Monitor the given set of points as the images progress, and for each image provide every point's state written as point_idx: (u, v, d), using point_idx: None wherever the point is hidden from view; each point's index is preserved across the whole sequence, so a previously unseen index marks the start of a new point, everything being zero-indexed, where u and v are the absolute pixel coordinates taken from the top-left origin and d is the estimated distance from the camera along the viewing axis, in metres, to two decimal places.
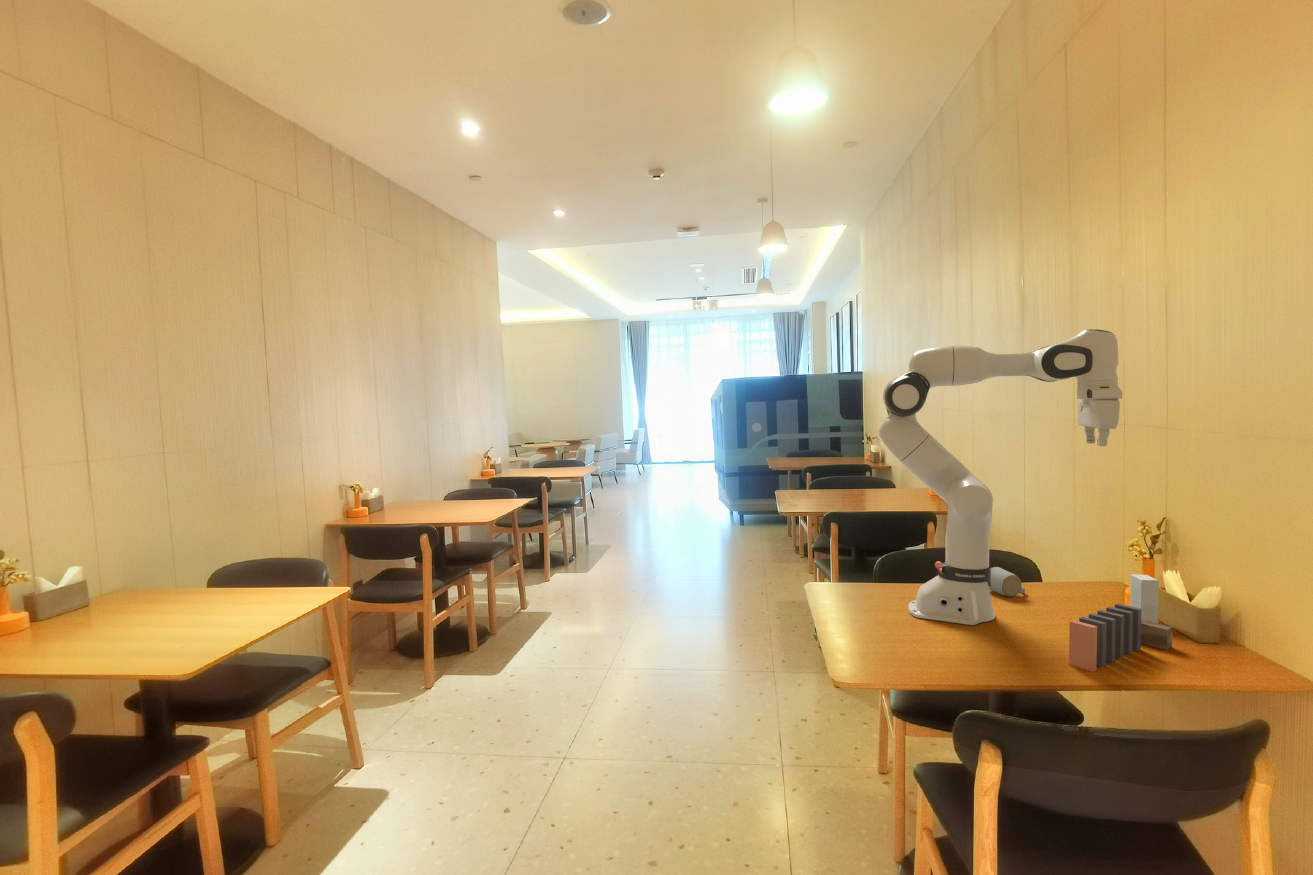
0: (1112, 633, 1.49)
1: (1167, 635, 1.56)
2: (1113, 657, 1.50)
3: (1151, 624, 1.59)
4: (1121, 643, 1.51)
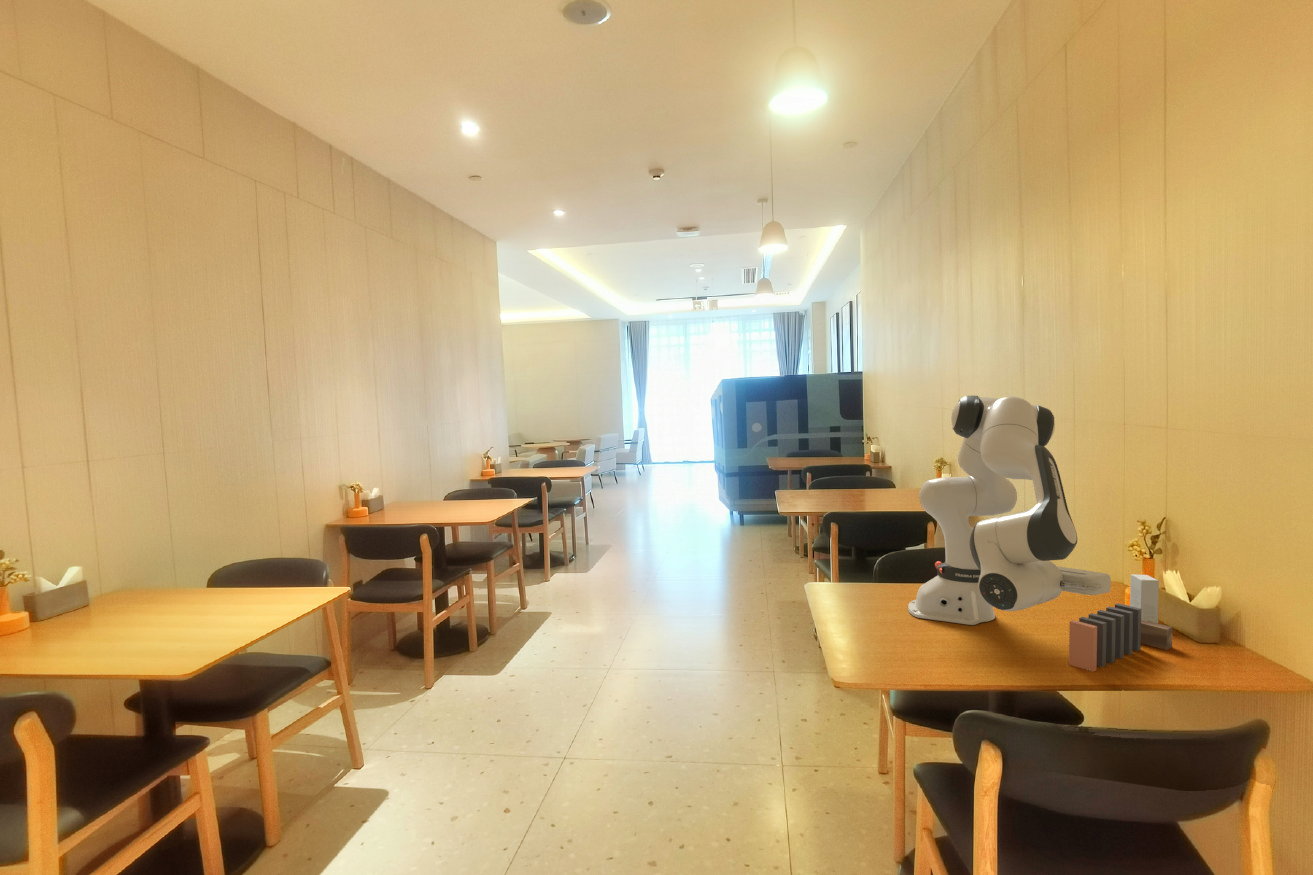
0: (1112, 633, 1.49)
1: (1167, 635, 1.56)
2: (1113, 657, 1.50)
3: (1151, 624, 1.59)
4: (1121, 643, 1.51)
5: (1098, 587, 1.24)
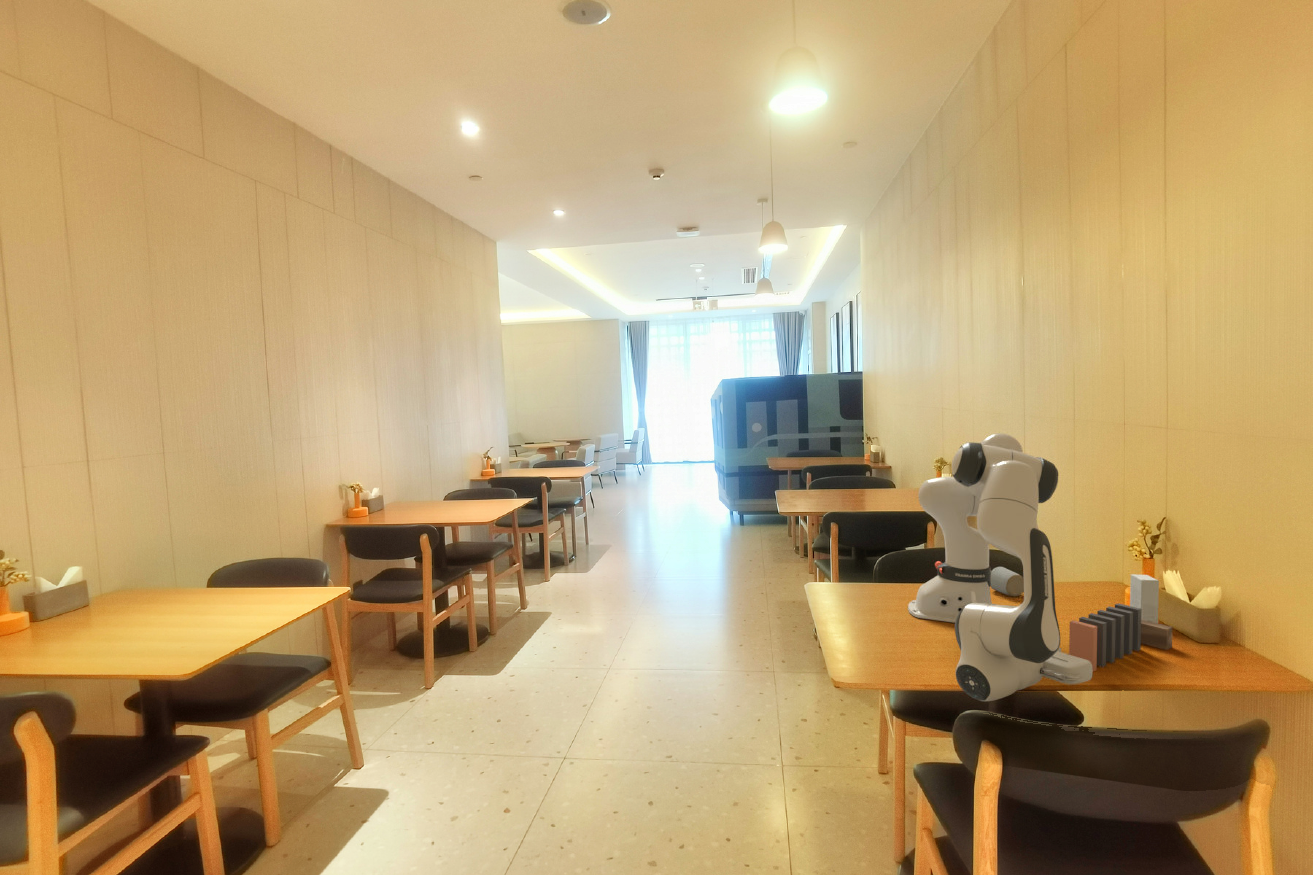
0: (1112, 633, 1.49)
1: (1167, 635, 1.56)
2: (1113, 657, 1.50)
3: (1151, 624, 1.59)
4: (1121, 643, 1.51)
5: (1076, 678, 1.25)
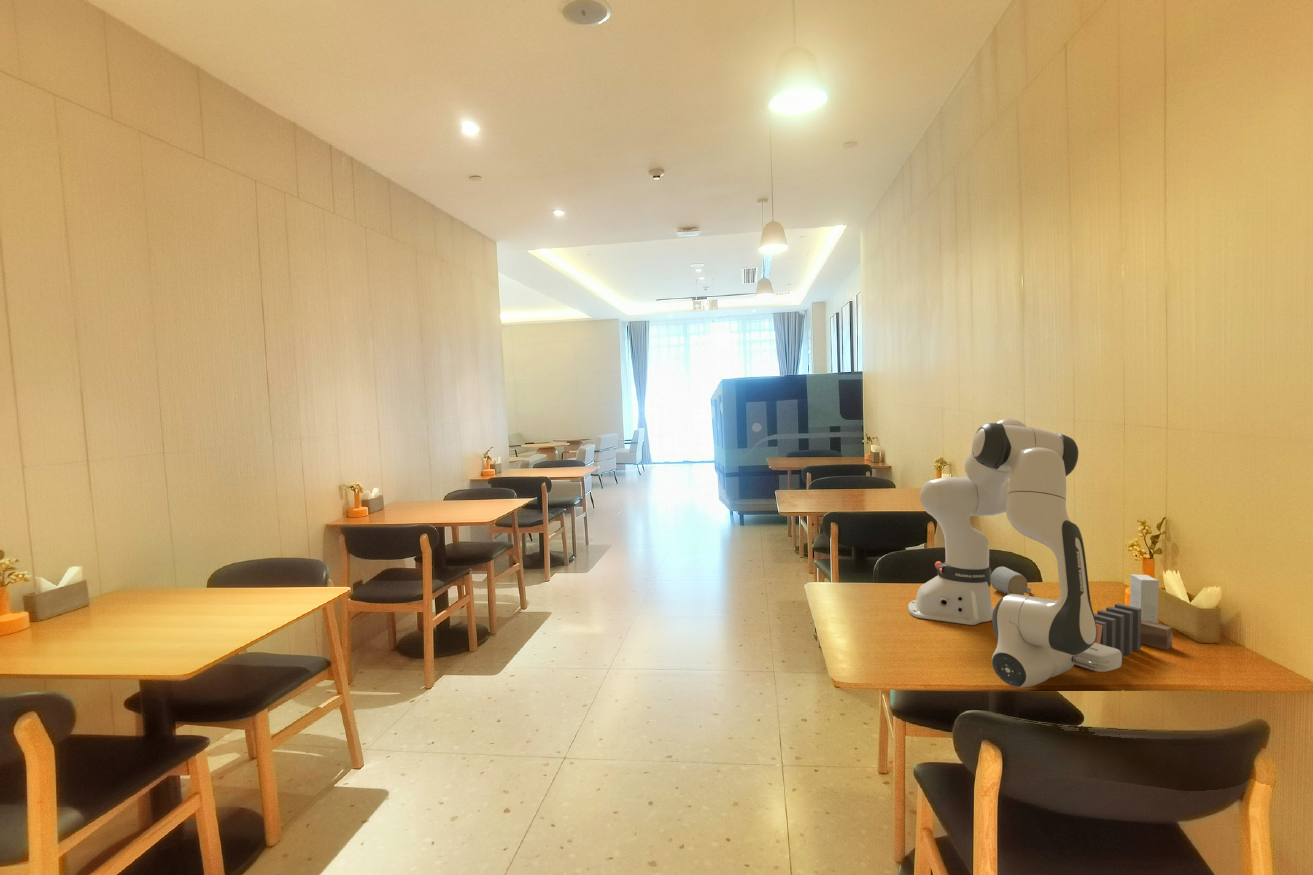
0: (1112, 633, 1.49)
1: (1167, 635, 1.56)
2: None
3: (1151, 624, 1.59)
4: (1121, 643, 1.51)
5: (1107, 666, 1.32)
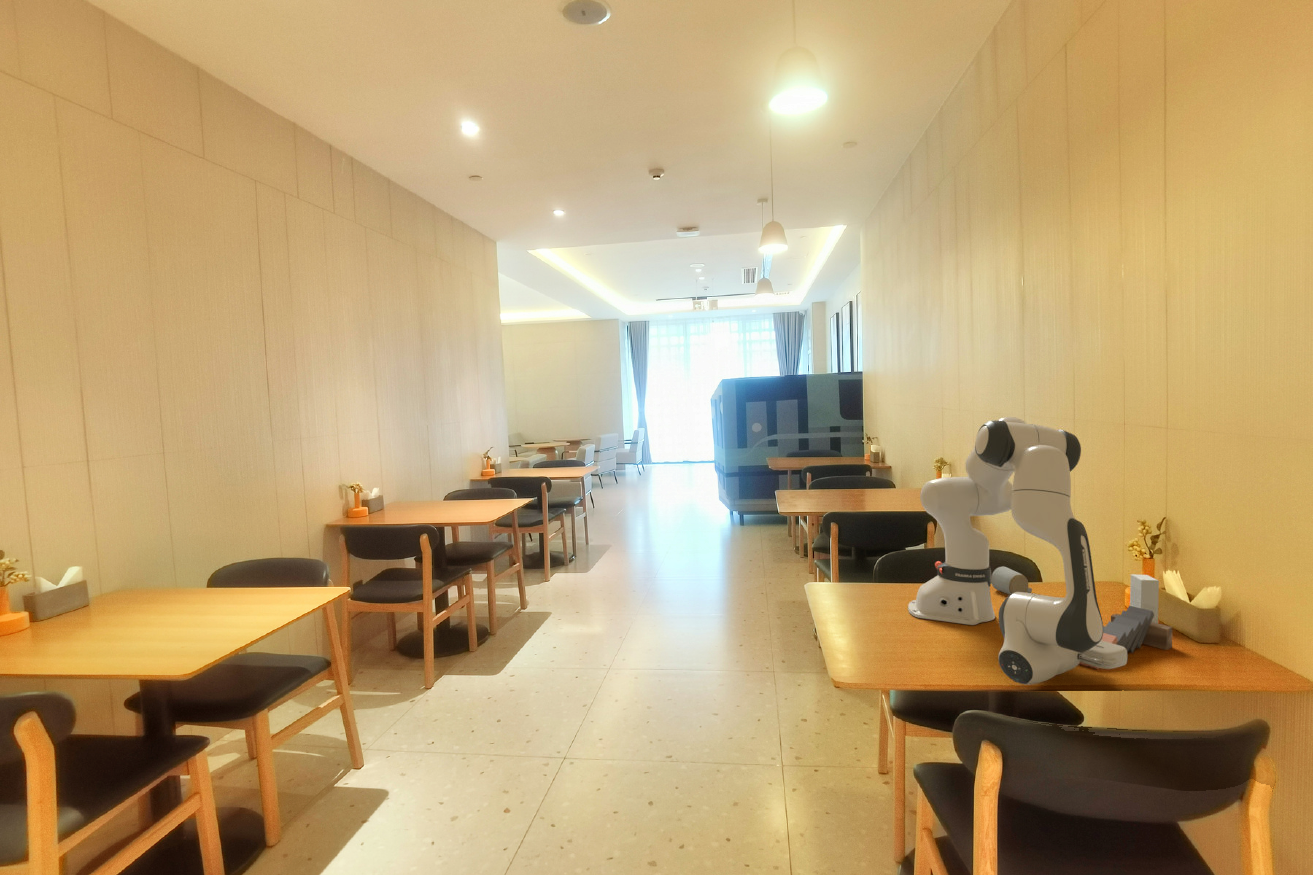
0: (1127, 635, 1.53)
1: (1167, 635, 1.56)
2: None
3: (1151, 624, 1.59)
4: (1129, 641, 1.53)
5: (1113, 663, 1.33)
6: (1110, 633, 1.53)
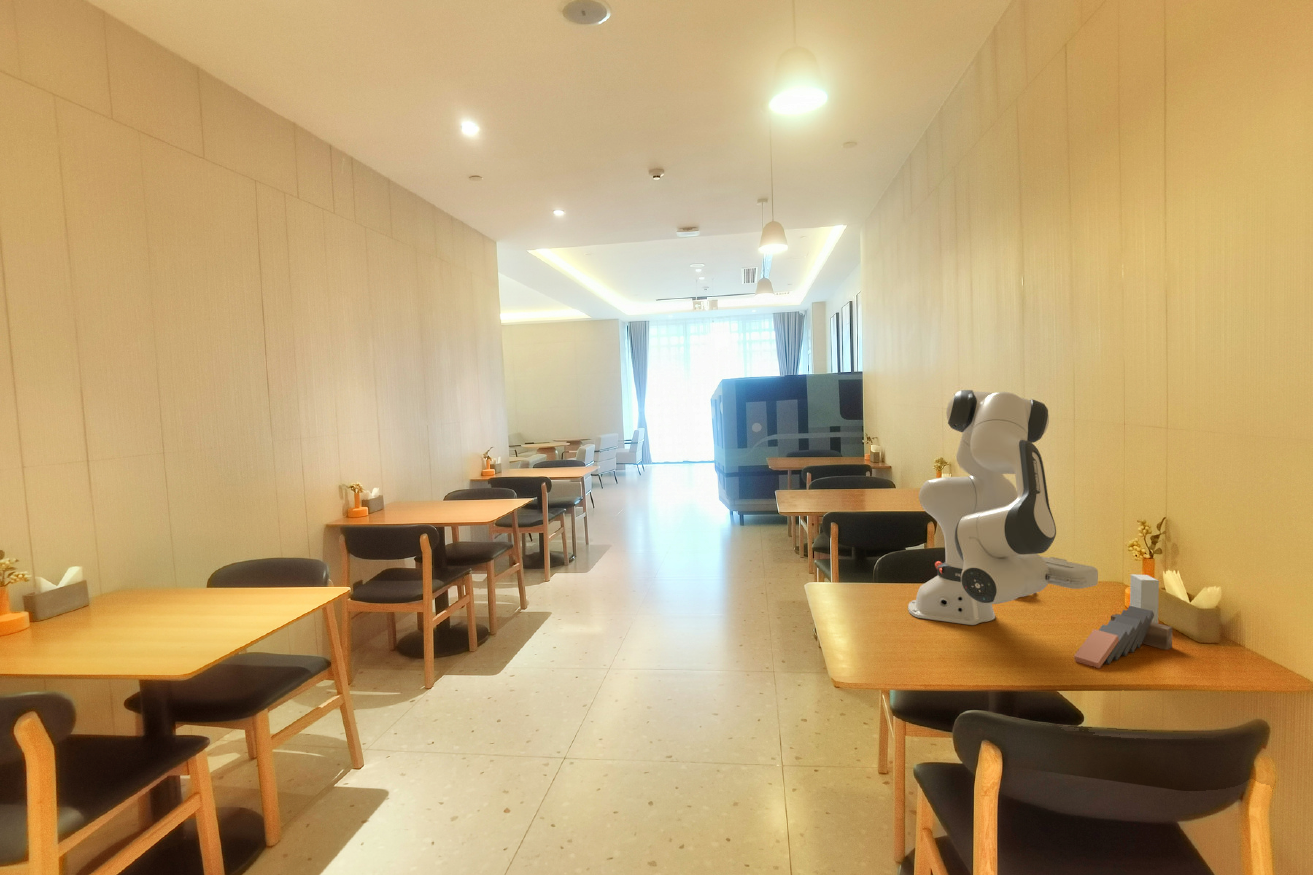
0: (1128, 634, 1.53)
1: (1167, 635, 1.56)
2: (1118, 654, 1.51)
3: (1151, 624, 1.59)
4: (1130, 640, 1.54)
5: (1082, 581, 1.26)
6: (1111, 632, 1.54)
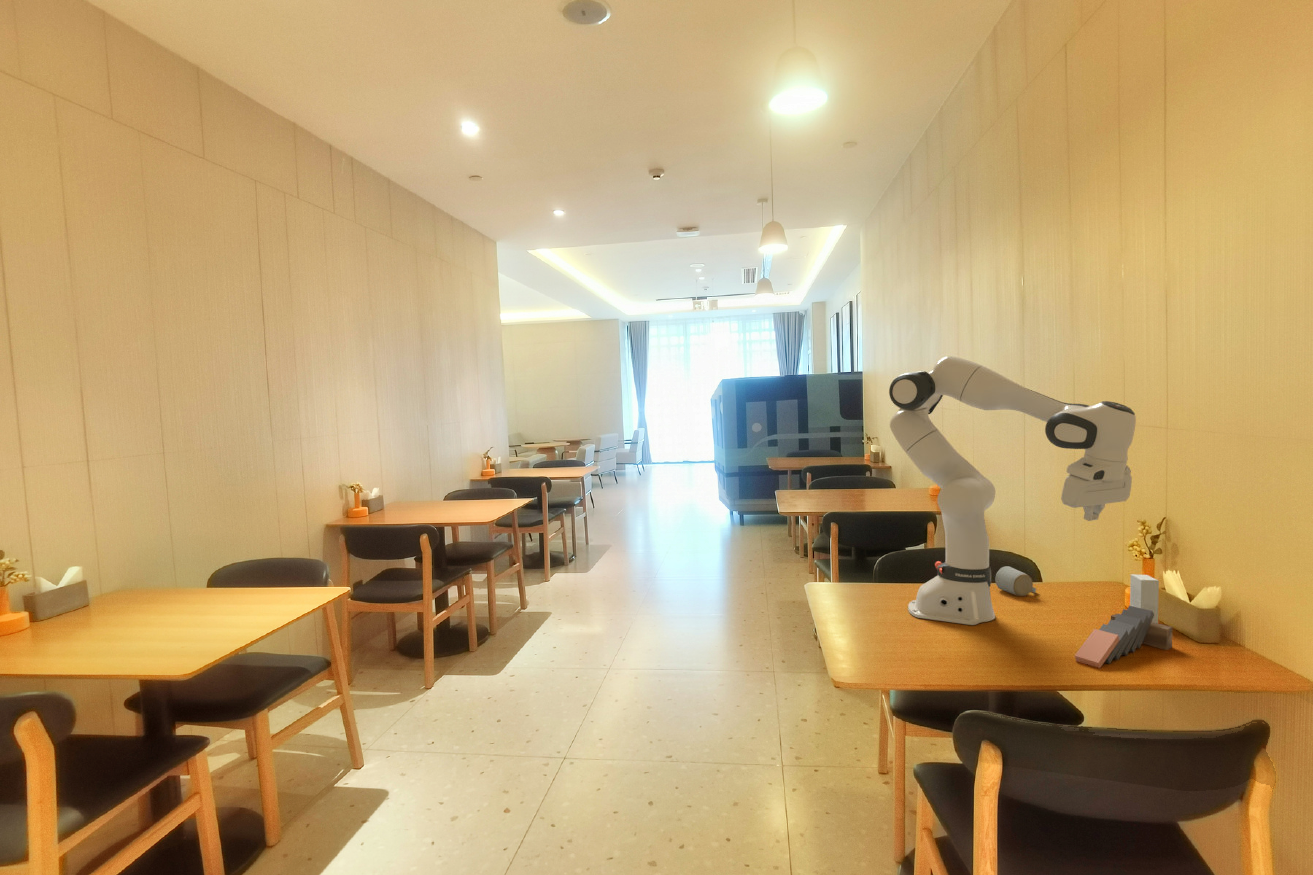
0: (1128, 634, 1.53)
1: (1167, 635, 1.56)
2: (1119, 654, 1.51)
3: (1151, 624, 1.59)
4: (1131, 640, 1.54)
5: None
6: (1112, 631, 1.54)
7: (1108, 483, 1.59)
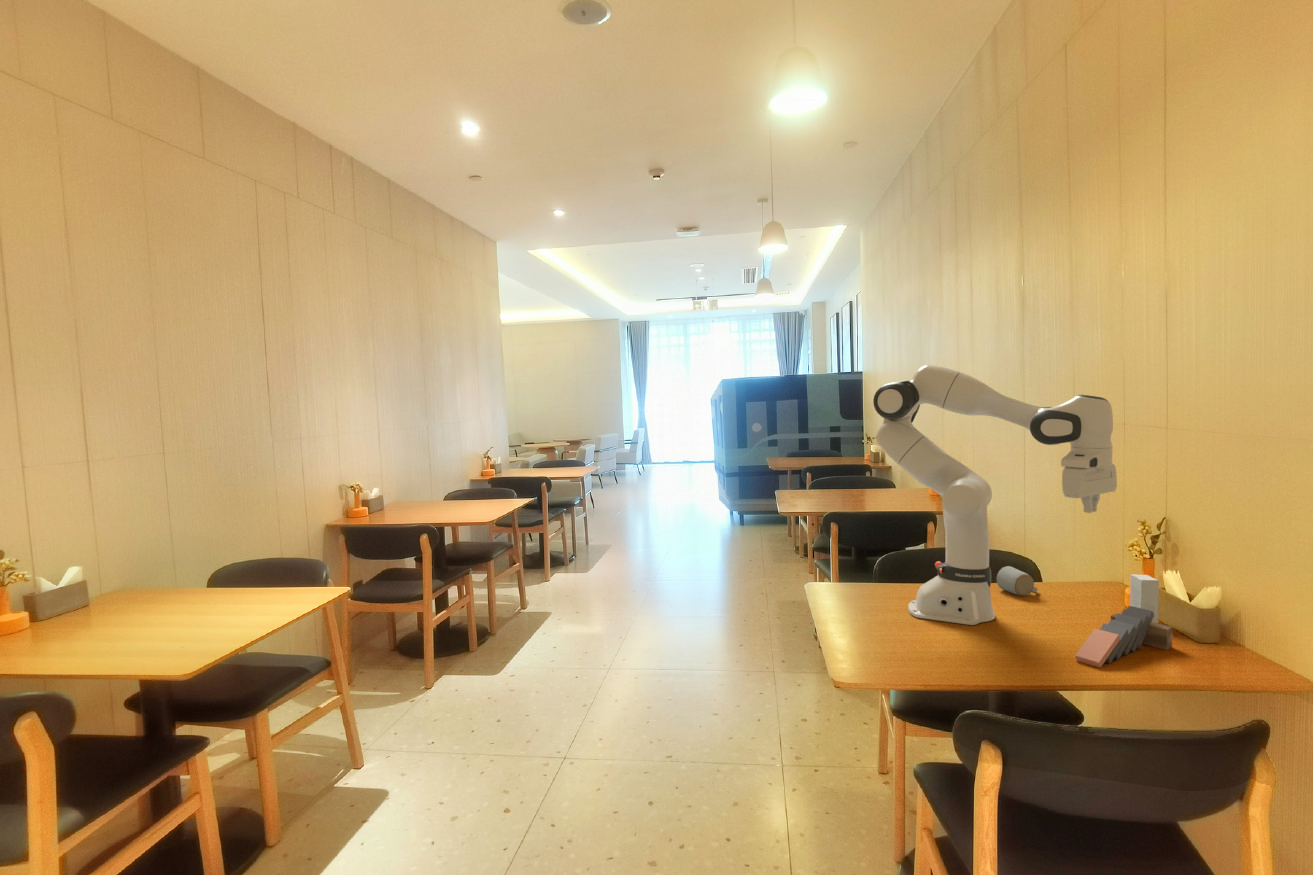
0: (1129, 634, 1.53)
1: (1167, 635, 1.56)
2: (1119, 654, 1.51)
3: (1151, 624, 1.59)
4: (1131, 640, 1.54)
5: None
6: (1112, 631, 1.54)
7: (1101, 471, 1.64)
